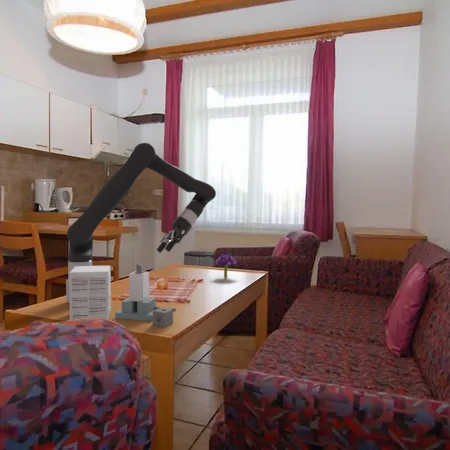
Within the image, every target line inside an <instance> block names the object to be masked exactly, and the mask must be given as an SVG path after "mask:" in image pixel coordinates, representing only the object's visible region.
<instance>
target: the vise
mask: <svg viewBox="0 0 450 450" xmlns="http://www.w3.org/2000/svg"><path fill="white" fill-rule="evenodd" d="M135 271H136V273H137V274H142V271H143V264H141V263H138V264H136V270H135ZM158 308H161V307H160V306H157V297H150V296H149V298H148V299H147V300H145V301H144V302H138V301H129V297H127V298H125V299H123V300H121V308H120V309H119V310H117V311H116V312H115V314H114V316H115V319H122V320H123V319H124V320H136V321H146V322H147V321H149V322H153V311H154V310H156V309H158ZM162 308H165V307H162ZM168 308H169V309H173V313H174V312H176V311H177V308H175V307H174V308H173V307H168Z"/></svg>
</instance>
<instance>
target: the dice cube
mask: <svg viewBox="0 0 450 450" xmlns="http://www.w3.org/2000/svg"><path fill="white" fill-rule="evenodd" d="M169 308H170V307H164V308H162V307H161V308H158V309H156V310H154V311H153V321H152V326H156V325H157V326H156V327H161V326H162V328H166V327H168V326H170V325H172V324H173V323H174V312H173V309H169Z"/></svg>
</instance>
